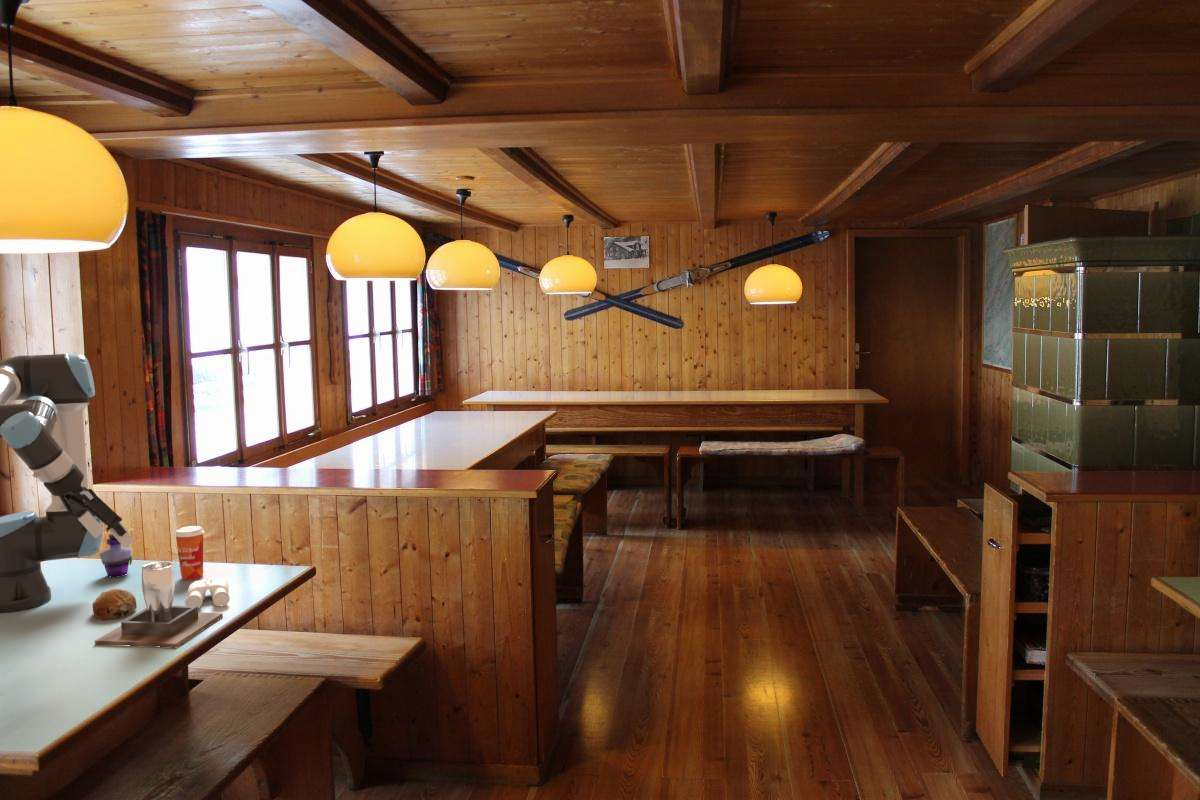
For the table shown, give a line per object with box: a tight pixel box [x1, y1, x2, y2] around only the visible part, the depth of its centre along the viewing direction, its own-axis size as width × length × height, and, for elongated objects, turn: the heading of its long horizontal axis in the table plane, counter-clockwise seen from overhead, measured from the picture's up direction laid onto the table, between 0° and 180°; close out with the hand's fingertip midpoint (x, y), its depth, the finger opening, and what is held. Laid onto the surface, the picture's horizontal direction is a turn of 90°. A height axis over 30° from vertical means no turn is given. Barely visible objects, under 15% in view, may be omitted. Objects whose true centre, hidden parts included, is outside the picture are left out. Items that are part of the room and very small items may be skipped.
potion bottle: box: [99, 533, 133, 578], centre depth 265 cm, size 9×9×12 cm
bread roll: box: [92, 588, 138, 621], centre depth 233 cm, size 10×10×8 cm
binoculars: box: [184, 576, 231, 609], centre depth 244 cm, size 10×16×5 cm, turn 22°
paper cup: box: [174, 525, 205, 581], centre depth 262 cm, size 8×8×14 cm
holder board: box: [94, 605, 224, 648], centre depth 221 cm, size 20×20×4 cm
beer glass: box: [141, 561, 175, 622], centre depth 220 cm, size 7×7×15 cm
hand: (114, 538), depth 219 cm, fingers open, 13 cm apart
